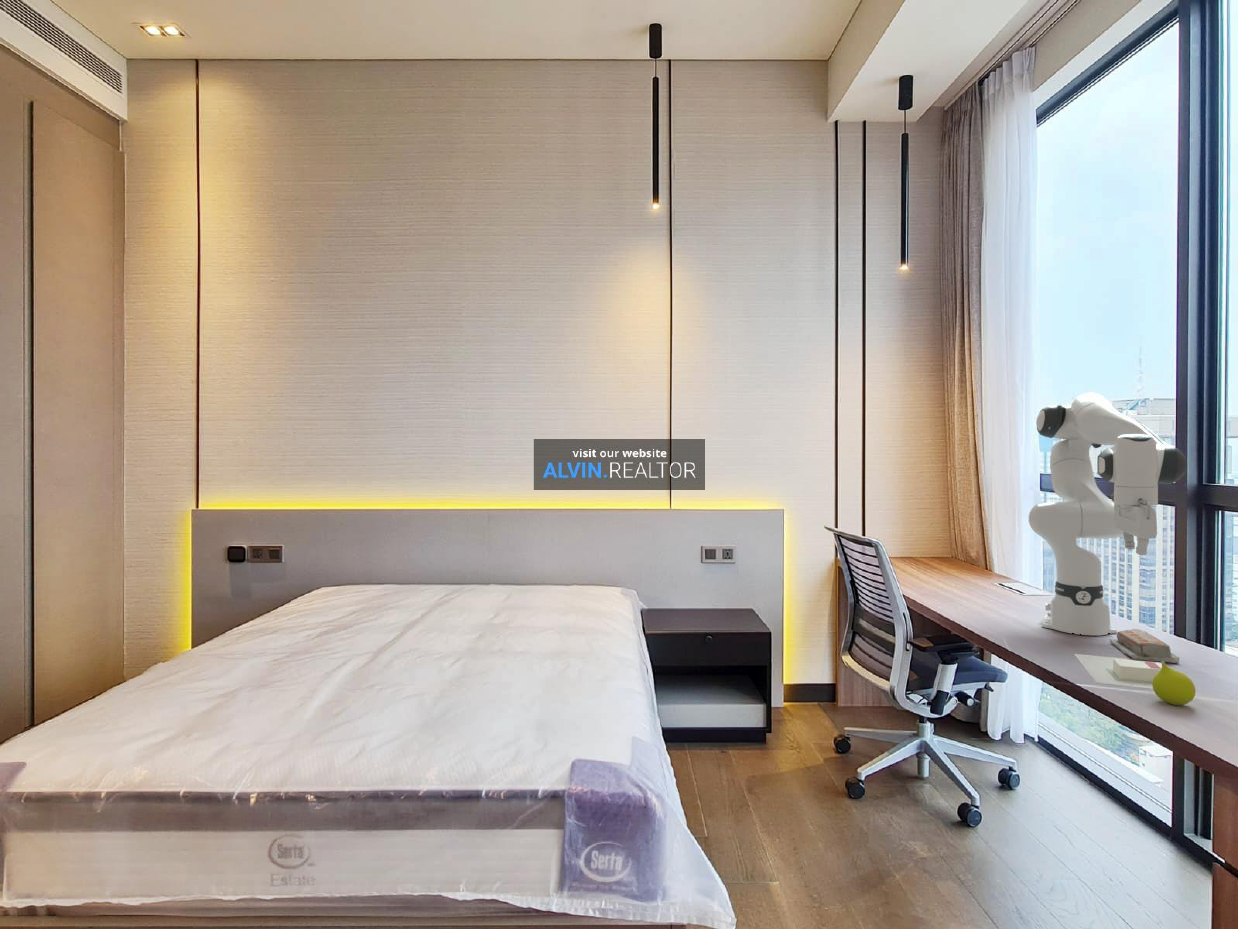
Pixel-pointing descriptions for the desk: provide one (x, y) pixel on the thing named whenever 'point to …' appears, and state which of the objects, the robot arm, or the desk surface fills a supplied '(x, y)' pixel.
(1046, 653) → the desk surface
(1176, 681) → the yellow-green rounded piece
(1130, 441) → the robot arm
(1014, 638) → the desk surface
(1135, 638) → the packaged product
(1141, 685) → the mat
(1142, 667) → the card box
